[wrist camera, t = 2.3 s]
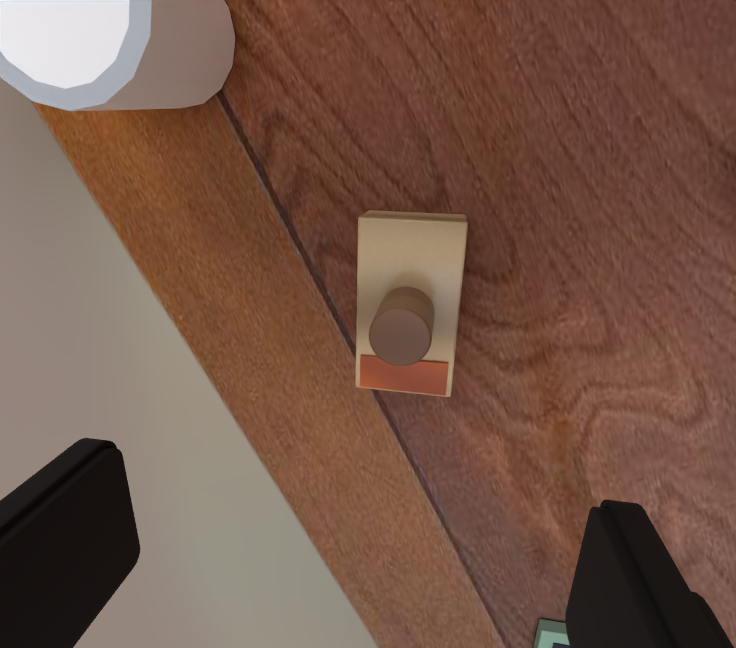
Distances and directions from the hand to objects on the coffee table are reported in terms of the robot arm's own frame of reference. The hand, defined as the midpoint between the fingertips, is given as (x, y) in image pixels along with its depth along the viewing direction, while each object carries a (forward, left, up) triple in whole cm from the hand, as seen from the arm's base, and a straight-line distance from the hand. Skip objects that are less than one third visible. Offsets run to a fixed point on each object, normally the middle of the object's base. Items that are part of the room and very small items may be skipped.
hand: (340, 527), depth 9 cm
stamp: (0, 0, -15) cm, 15 cm away
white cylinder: (-11, -11, -15) cm, 22 cm away
